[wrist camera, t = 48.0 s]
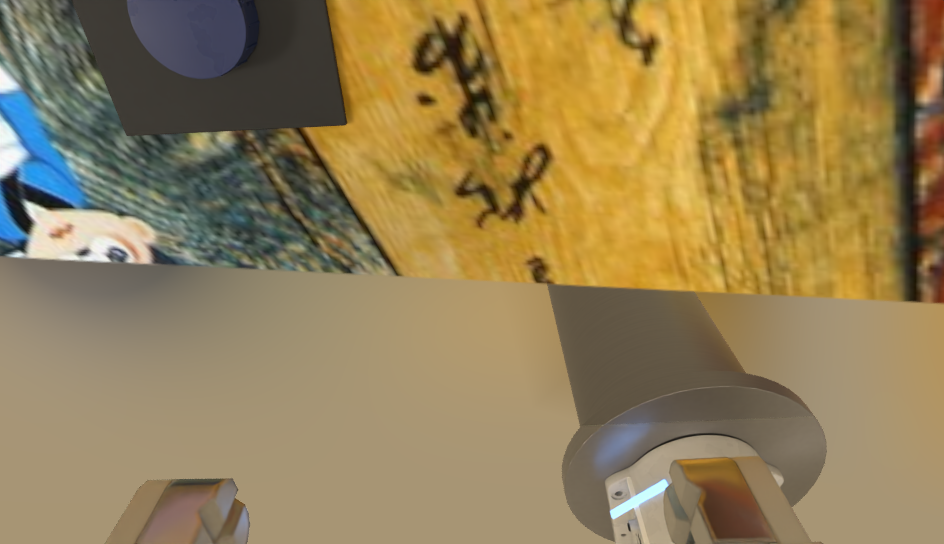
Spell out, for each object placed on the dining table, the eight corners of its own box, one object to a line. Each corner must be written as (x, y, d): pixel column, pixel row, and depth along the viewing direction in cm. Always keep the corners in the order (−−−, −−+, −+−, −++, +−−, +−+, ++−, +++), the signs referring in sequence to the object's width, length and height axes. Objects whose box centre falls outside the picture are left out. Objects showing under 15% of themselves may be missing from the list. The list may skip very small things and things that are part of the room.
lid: (128, -44, 28) (105, -42, 27) (241, -53, 28) (225, -53, 26) (171, 74, 32) (153, 83, 30) (272, 67, 31) (260, 75, 30)
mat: (347, 123, 34) (346, 125, 33) (129, 134, 34) (126, 136, 34) (298, -158, 26) (296, -159, 26) (18, -142, 26) (13, -143, 26)
